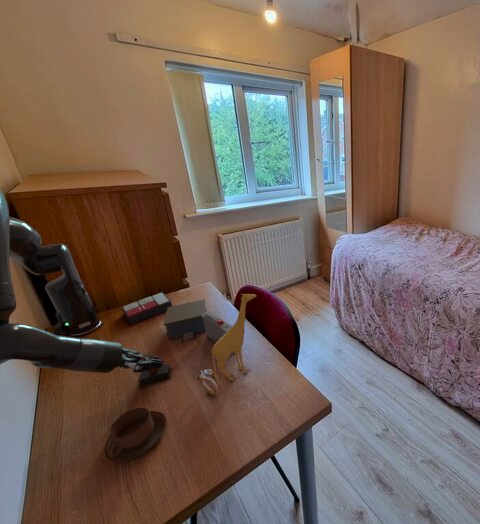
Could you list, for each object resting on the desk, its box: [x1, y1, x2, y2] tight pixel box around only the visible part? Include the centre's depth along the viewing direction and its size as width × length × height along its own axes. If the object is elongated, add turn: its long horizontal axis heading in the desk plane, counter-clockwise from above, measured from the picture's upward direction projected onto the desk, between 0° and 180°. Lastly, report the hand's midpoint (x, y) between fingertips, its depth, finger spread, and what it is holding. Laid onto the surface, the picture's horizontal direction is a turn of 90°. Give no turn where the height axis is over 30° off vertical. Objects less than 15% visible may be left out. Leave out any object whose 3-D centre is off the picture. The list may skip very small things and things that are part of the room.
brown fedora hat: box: [103, 407, 167, 463], centre depth 66 cm, size 12×12×6 cm
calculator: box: [121, 292, 173, 325], centre depth 116 cm, size 11×4×15 cm
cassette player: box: [201, 310, 235, 355], centre depth 97 cm, size 16×3×10 cm, turn 53°
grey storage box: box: [163, 299, 208, 340], centre depth 106 cm, size 13×12×7 cm
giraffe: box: [211, 293, 257, 382], centre depth 82 cm, size 16×4×25 cm, turn 141°
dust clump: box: [182, 331, 194, 342], centre depth 101 cm, size 3×3×1 cm
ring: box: [196, 368, 221, 396], centre depth 78 cm, size 7×3×8 cm, turn 60°
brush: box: [138, 352, 172, 388], centre depth 83 cm, size 4×7×8 cm, turn 115°
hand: (159, 362), depth 84 cm, fingers closed on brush, 2 cm apart
